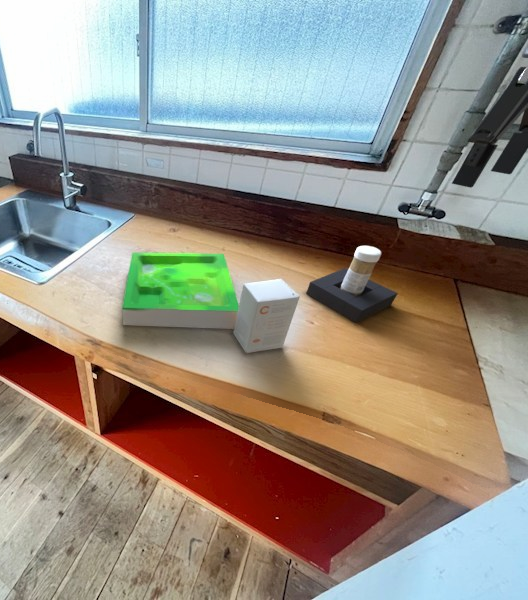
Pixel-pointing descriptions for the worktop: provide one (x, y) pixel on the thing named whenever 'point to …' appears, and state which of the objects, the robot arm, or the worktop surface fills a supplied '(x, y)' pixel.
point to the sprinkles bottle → (360, 270)
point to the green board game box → (179, 291)
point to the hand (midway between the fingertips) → (482, 178)
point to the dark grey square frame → (350, 296)
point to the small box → (264, 315)
